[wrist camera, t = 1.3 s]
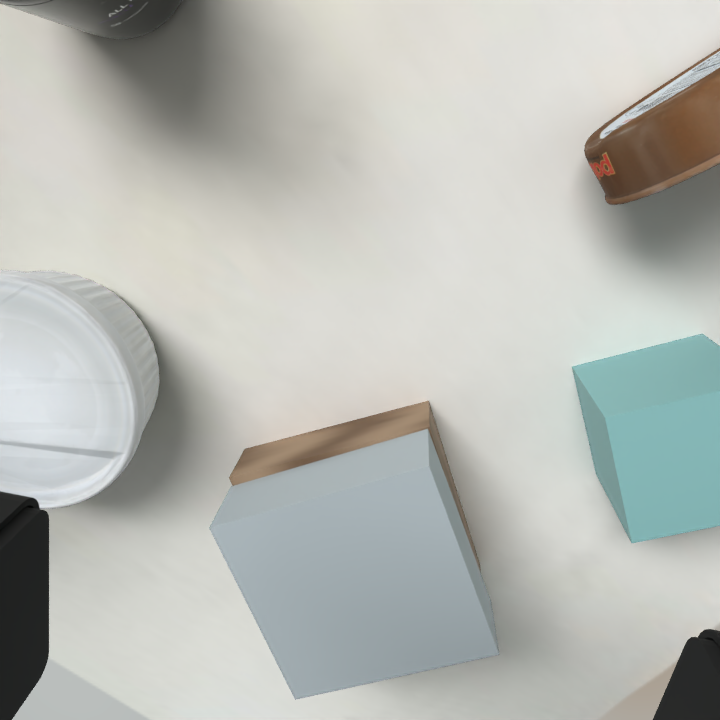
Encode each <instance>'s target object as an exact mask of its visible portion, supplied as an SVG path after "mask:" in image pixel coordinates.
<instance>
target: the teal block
mask: <svg viewBox="0 0 720 720" xmlns="http://www.w3.org/2000/svg"><path fill="white" fill-rule="evenodd" d="M572 369H573V373H574V378H575V382H576V387H577V391H578V396H579V400H580V405H581V409H582V414H583V418H584V422H585V427H586V431H587V436H588V440H589V445H590V449H591V454H592V458H593V462H594V467H595V471H596V475H597V477H598V479H599V481H600V482H601V484H602V486H603V488H604V490H605V492H606V494H607V496H608V498H609V500H610V502H611V504H612V506H613V508H614V510H615V512H616V514H617V516H618V518H619V519H620V521H621V523H622V525H623V527H624V529H625V531H626V533H627V535H628V537H629V539H630V541H631V543H636V542H641V541H646V540H651V539H656V538H661V537H666V536H671V535H676V534H681V533H686V532H691V531H696V530H701V529H706V528H711V527H716V526H720V346H719V345H717V344H716V343H715V342H713V341H712V340H710V339H709V338H708V337H706V336H705V335H703V334H699V335H696V336H692V337H688V338H684V339H680V340H676V341H672V342H668V343H664V344H660V345H656V346H652V347H648V348H644V349H640V350H636V351H632V352H628V353H624V354H620V355H616V356H612V357H608V358H604V359H600V360H596V361H592V362H588V363H584V364H581V365H577V366H573V367H572Z"/></svg>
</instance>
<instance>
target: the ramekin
mask: <svg viewBox="0 0 720 720" xmlns="http://www.w3.org/2000/svg"><path fill="white" fill-rule="evenodd" d="M159 383H160V380H159V366H158V358H157V354H156V352H155V347H154V344H153V342H152V340H151V339H150V336H149V333H148V331H147V330H146V328H145V327H144V325H143V323H142V321H141V320H140V319H139V318H138V317H137V315H136V314H135V312H134V311H133V310H132V309H131V308H130V307H129V306H128V305H127V304H126V302H124V301H123V300H122V299H120V298H119V297H118V296H117V295H116V294H115V293H113V292H111V291H110V290H108V289H107V288H106V287H104V286H103V285H100V284H97V283H96V282H94V281H92V280H90V279H86V278H83V277H81V276H78V275H75V274H68V273H65V272H56V271H33V272H21V271H11V270H0V491H1V492H6V493H11V494H17V495H22V496H27V497H32V498H35V499H36V500H37V501H38V503H39V508H40V509H46V508H52V509H53V508H60V507H67V506H71V505H74V504H78V503H80V502H83V501H85V500H87V499H89V498H91V497H93V496H95V495H97V494H99V493H100V492H102V491H103V490H104V489H106V488H107V487H108V486H109V485H110V484H112V483H113V482H114V481H115V480H116V479H117V478H118V477H119V476H120V474H121V473H122V472H123V471H124V470H125V468H126V467H127V465H128V464H129V463H130V461H131V459H132V458H133V456H134V454H135V452H136V450H137V447H138V445H139V442H140V439H141V436H142V432H143V430H144V428H145V426H146V425H147V423H148V421H149V419H150V417H151V414H152V411H153V409H154V407H155V404H156V399H157V397H158V387H159Z"/></svg>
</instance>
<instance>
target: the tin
mask: <svg viewBox="0 0 720 720" xmlns="http://www.w3.org/2000/svg"><path fill="white" fill-rule="evenodd" d="M584 151H585V156H586V158H587V160H588V163H589V165H590V166H591V168H592V170H593V172H594V173H595V175H596V177H597V179H598V181H599V182H600V184H601V186H602V188H603V190H604V192H605V194H606V195H605V200H606V202H607V203H608V204H611V205H617V204H624V203H627V202H630V201H635V200H638V199H640V198H643V197H647V196H649V195H652V194H655V193H658V192H660V191H662V190H665V189H667V188H669V187H672V186H674V185H676V184H678V183H680V182H683V181H685V180H687V179H689V178H691V177H693V176H695V175H697V174H700V173H702V172H704V171H706V170H708V169H710V168H712V167H714V166H716V165H718V164H720V48H719V49H718V50H716V51H715V52H713V53H711V54H710V55H708V56H707V57H705V58H704V59H702V60H700V61H699V62H697V63H696V64H694V65H693V66H691V67H690V68H688V69H686V70H685V71H683V72H682V73H680V74H679V75H677V76H676V77H674V78H673V79H671V80H670V81H668V82H667V83H665V84H663V85H662V86H660V87H659V88H657V89H656V90H654V91H653V92H651V93H650V94H648V95H647V96H645V97H644V98H642V99H641V100H639V101H638V102H636V103H635V104H633V105H632V106H630V107H629V108H627V109H626V110H624V111H623V112H621V113H620V114H618V115H617V116H616V117H614V118H613V119H611V120H610V121H608V122H607V123H606V124H604V125H603V126H602V127H600V128H599V129H598V130H597V131H595V132H594V133H593V134H592V135H591V136H590V137H589V138H588V140H587V142H586V144H585V150H584Z"/></svg>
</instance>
